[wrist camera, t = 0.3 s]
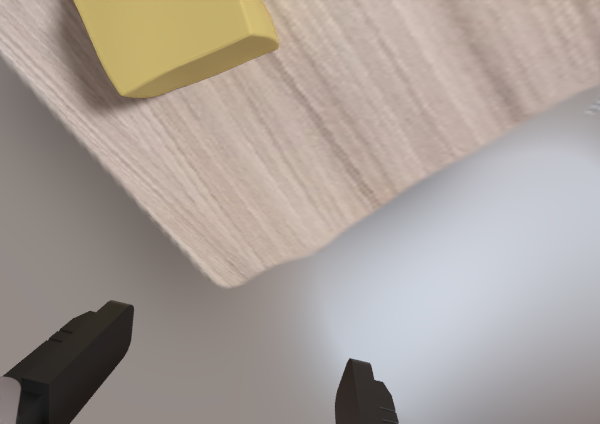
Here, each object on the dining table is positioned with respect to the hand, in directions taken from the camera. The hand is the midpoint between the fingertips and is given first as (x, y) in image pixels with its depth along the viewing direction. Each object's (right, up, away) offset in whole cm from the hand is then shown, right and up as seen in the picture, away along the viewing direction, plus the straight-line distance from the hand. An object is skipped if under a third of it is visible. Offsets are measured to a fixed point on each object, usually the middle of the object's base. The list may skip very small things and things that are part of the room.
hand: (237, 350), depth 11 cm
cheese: (-6, +22, +16) cm, 28 cm away
